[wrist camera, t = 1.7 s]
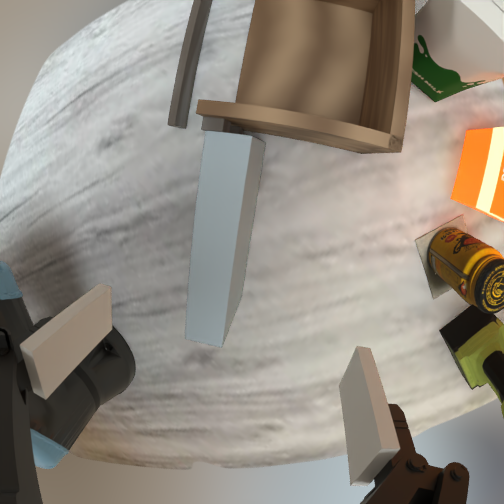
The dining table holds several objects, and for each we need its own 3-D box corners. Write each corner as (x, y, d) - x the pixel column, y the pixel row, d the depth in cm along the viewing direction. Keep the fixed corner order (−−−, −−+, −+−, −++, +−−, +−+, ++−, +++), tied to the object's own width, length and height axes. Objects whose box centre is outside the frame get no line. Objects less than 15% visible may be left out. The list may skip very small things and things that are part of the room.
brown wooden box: (178, 132, 32) (118, 122, 20) (209, -14, 26) (173, -72, 14) (359, 162, 31) (398, 166, 19) (379, 9, 25) (412, -47, 12)
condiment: (462, 214, 31) (520, 240, 19) (476, 273, 32) (527, 314, 21) (414, 239, 32) (461, 277, 21) (432, 298, 34) (473, 350, 23)
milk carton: (466, 64, 25) (573, 20, 6) (436, 114, 28) (557, 89, 9) (410, 16, 24) (487, -69, 5) (376, 64, 27) (455, -21, 8)
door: (204, 288, 38) (172, 335, 27) (223, 137, 32) (190, 129, 22) (241, 296, 37) (222, 347, 27) (265, 143, 32) (252, 136, 21)
